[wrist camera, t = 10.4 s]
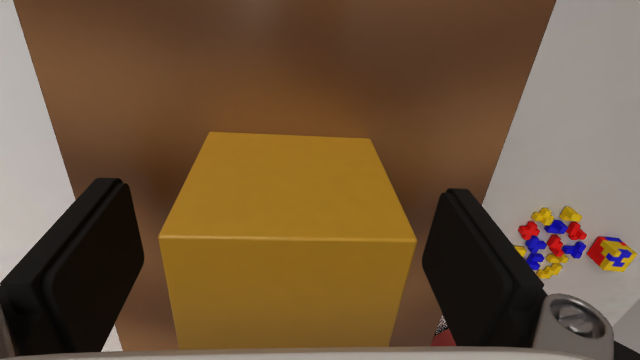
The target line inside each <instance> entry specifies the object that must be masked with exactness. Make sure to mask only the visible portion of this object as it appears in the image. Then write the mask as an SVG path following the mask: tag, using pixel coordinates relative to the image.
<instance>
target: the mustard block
mask: <svg viewBox="0 0 640 360" xmlns="http://www.w3.org/2000/svg"><path fill="white" fill-rule="evenodd" d="M158 239H159V245H160V250H161V255H162V261H163V266H164V271H165V277H166V282H167V287H168V293H169V298H170V303H171V309H172V314H173V319H174V324H175V330H176V335H177V340H178V346H179V350H202V349H257V348H325V347H389V343H390V340H391V336H392V332H393V329H394V325H395V321H396V318H397V314H398V310H399V307H400V303H401V299H402V296H403V292H404V289H405V285H406V281H407V278H408V274H409V270H410V267H411V263H412V259H413V256H414V252H415V248H416V245H417V238H416V236H415V234H414V232H413V230H412V227H411V225H410V223H409V221H408V219H407V217H406V215H405V212H404V210H403V208H402V206H401V204H400V202H399V199H398V197H397V195H396V193H395V191H394V189H393V187H392V184H391V182H390V180H389V178H388V176H387V174H386V171H385V169H384V167H383V165H382V163H381V161H380V159H379V156H378V154H377V152H376V150H375V148H374V146H373V144H372V141H371V139H367V138H344V137H321V136H298V135H275V134H252V133H229V132H209V134H208V136H207V138H206V140H205V142H204V144H203V146H202V148H201V150H200V152H199V154H198V156H197V158H196V160H195V162H194V164H193V166H192V168H191V170H190V172H189V175H188V177H187V179H186V181H185V183H184V185H183V187H182V189H181V191H180V193H179V195H178V197H177V199H176V201H175V203H174V205H173V207H172V209H171V211H170V213H169V215H168V217H167V219H166V221H165V223H164V225H163V228H162V230H161V232H160V234H159V236H158Z"/></svg>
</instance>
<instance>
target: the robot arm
mask: <svg viewBox="0 0 640 360" xmlns="http://www.w3.org/2000/svg"><path fill="white" fill-rule="evenodd" d="M143 264H144V250H143V246H142V241H141V237H140V232H139V228H138V223H137V219H136V214H135V210H134V205H133V201H132V196H131V192H130V187H129V185H128V184H127V183H123V181H122V180H121V179H120V178H96V179H95V180H94V181H93V182H92V183H91V184H90V185H89V186H88V187H87V189H86V190H85V191H84V192H83V193H82V194H81V195H80V196H79V197H78V198H77V200H76V201H75V202H74V203H73V204H72V205H71V206H70V207H69V208H68V209H67V210H66V212H65V213H64V214H63V215H62V216H61V217H60V218H59V219H58V220H57V221H56V222H55V224H54V225H53V226H52V227H51V228H50V229H49V230H48V231H47V232H46V233H45V235H44V236H43V237H42V238H41V239H40V240H39V241H38V242H37V243H36V244H35V245H34V247H33V248H32V249H31V250H30V251H29V252H28V253H27V254H26V255H25V256H24V257H23V259H22V260H21V261H20V262H19V263H18V264H17V265H16V266H15V267H14V268H13V270H12V271H11V272H10V273H9V274H8V275H7V276H6V277H5V278H4V279H3V280H2V282H1V283H0V284H1V286H0V360H640V354H639V353H637V352H635V351H633V350H631V349H629V348H627V347H626V346H623V345H622V344H620V343H618V342H616V341H614V333H613V329H612V326H611V325H610V323H609V322H608V320H607V319H606V318H605V317H604V316H603V315H602V314H601V313H600V312H599V311H598V310H597V309H595V308H594V307H593V306H591V305H590V304H588V303H586V302H584V301H583V300H581V299H579V298H576V297H573V296H570V295H566V294H560V293H559V294H551V295H549V296H548V295H547V294H546V292H545V291H544V290H543V289H542V288H543V286H544V284H543V282H542V281H541V280H540V279H539V277H538V276H537V275H536V274H535V272H534V271H533V270H532V269H531V267H530V266H529V265H528V264H527V262H526V261H525V260H524V259H523V257H522V256H521V255H520V253H519V252H518V251H517V250H516V248H515V247H514V246H513V245H512V243H511V242H510V241H509V240H508V238H507V237H506V236H505V235H504V233H503V232H502V231H501V230H500V228H499V227H498V226H497V225H496V223H495V222H494V221H493V219H492V218H491V217H490V216H489V214H488V213H487V212H486V211H485V209H484V208H483V207H482V206H481V204H480V203H479V202H478V201H477V199H476V198H475V197H474V196H473V194H472V193H471V192H470V191H469V190H468V189H461V188H449V189H447V190H446V192H445V193H441V195H440V197H439V201H438V204H437V207H436V211H435V214H434V218H433V221H432V225H431V228H430V231H429V235H428V238H427V242H426V245H425V249H424V252H423V255H422V267H423V270H424V272H425V275H426V277H427V279H428V282H429V284H430V286H431V288H432V291H433V293H434V295H435V298H436V300H437V302H438V304H439V307H440V309H441V311H442V314H443V316H444V318H445V321H446V323H447V325H448V327H449V330H450V332H451V334H452V337H453V339H454V341H455V343H456V346H422V347H325V348H257V349H202V350H153V351H115V352H101V350H102V348H103V346H104V344H105V342H106V340H107V338H108V336H109V334H110V332H111V330H112V328H113V326H114V324H115V322H116V320H117V318H118V316H119V314H120V312H121V310H122V308H123V306H124V304H125V302H126V299H127V297H128V295H129V293H130V291H131V289H132V287H133V285H134V283H135V281H136V279H137V277H138V275H139V273H140V271H141V269H142V267H143Z"/></svg>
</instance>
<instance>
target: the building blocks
mask: <svg viewBox="0 0 640 360" xmlns="http://www.w3.org/2000/svg"><path fill="white" fill-rule="evenodd" d="M559 217H560V218H561V219H562V220H566V221H576V222H571V224H570V225H569V227H567V226H566V225H565V224H564V223H563V222H561V221H560V220H555V221H554V222H553V224H552V225H550V224H551V223H552V221H553V219H554V217H553V216H552V215H551V211H550V210H549V209H548V208H542V210H541V212H540V213H536V212H534V214H533V215H532V218H533V219H534V220H535V221H541V222H542V223H543V224H544V225H546V226H545V228H544V229H545V230H546V231H547V232H548V233H558V234H564V233H565V232H567V233H568V234H569V235H568V237H569V238H570V239H571V240H578V239H582V240H584V239H585V238H586V236H587V234H586V233H584V232H583V231H582V230H581V229H580V225H579V224H578V223H577V222H580V220H581V218H582V216H581V215H580V214H578V213H577V212H575V211H574V210H573V209H572V208H571V207H565V208H564V210H563V211H562V213H561V215H560V216H559ZM518 231H519V232H520V233H521V234H522V235H521V237H522V238H523V239H524V240H527V242H526V245H527V247H528V250H529V251H530V252H531V254H530V256H529V258H528V259H527V261H526V262H527V264H528V265H529V266H530V267H531V269H532V270H538V269H539V267H540V265H539V264H538V263H537V262H542V261H543V260H544V257H543V255H542V254H535V253H537V251H538V250H539V249H545V247H546V246H547V245H548V246H549V247H550V248H549V249H550V250H551V251H552V252H553V254H554V255H548V256H547V258H546V259H547V261H548V262H549V263H554V264H553V265H552V267H548V266H546V268H545V270H539V271H538V272H537V275H538V276H539V278H547V279H550V277H551V276H552V275H557V274H558V273H559V271H560V270H561V268H562V266H561V265H560V264H559V263H560V262H561V263H566V262H567V261H568V258H567V257H566V256H565V255H564V253H565V254H571V255H572V256H573V257H574V258H580V257H581V255H582V252H583V250H584V249H585V248H586V245H585V244H584V243H583V242H577V243H576V245H575V246H565V245H564V247H563V248H562V250H561V249H560V248H561V247H562V245H563V243H562V242H561V241H560V240H561V239H560V238H559V237H558V236H557V235H552V236H551V237H550V239H549V241H548V242H547V244H546V243H545V242H544V241H538V240H539V239H538V237H537V236H538V234H539V232H540V230H539V229H538V228H537V225H536V224H535V223H534V222H528V224H527V226H520V228H519V230H518ZM514 247H515V248H516V250H517V251H518V252H519V253H520V255H521V256H522V257H523V256H524V255H525V253H526V251H527V250H526V249H525V248H524V247H519V246H514ZM587 255H588V256H589V257H590V258H591V259H592V260H593V261H594V262H595V263H596V264H597V265H598V266H599V267H601V268H602V269H603V270H608V271H620V272H624V271H625V269H626V268H627V267H628V266H629V264H630V263H631V262H632V261H633V259H634V258H635V257H636V256H637V253H636V252H634V251H633V250H632V249H631V248H630V247H628V246H627V245H626V244H625V243H624V242H622V241H621V240H620V239H619V238H609V237H598V238H597V240H596V241H595V243H594V244H593V246H592V247H591V248H590V250H589V251H588V253H587Z"/></svg>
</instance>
